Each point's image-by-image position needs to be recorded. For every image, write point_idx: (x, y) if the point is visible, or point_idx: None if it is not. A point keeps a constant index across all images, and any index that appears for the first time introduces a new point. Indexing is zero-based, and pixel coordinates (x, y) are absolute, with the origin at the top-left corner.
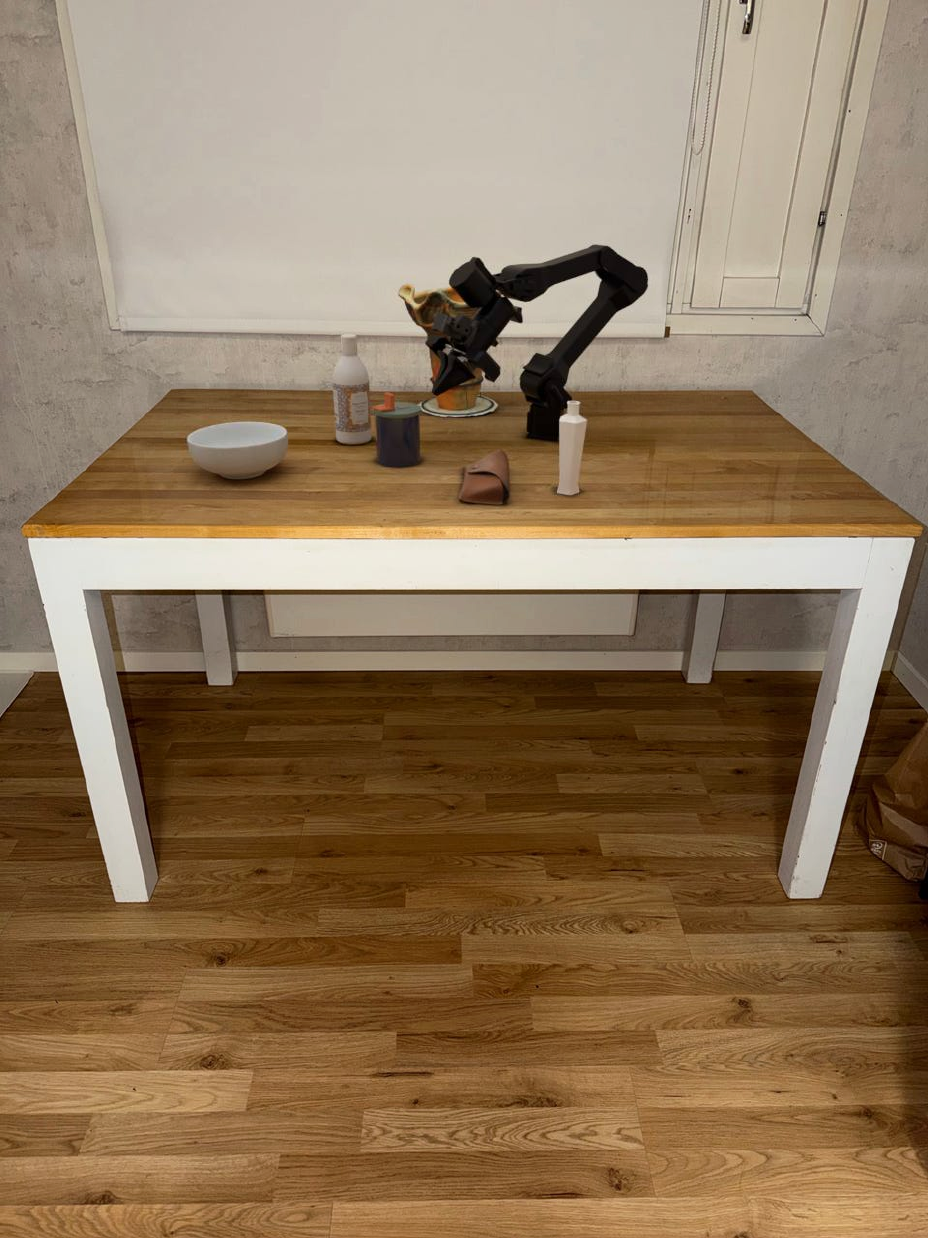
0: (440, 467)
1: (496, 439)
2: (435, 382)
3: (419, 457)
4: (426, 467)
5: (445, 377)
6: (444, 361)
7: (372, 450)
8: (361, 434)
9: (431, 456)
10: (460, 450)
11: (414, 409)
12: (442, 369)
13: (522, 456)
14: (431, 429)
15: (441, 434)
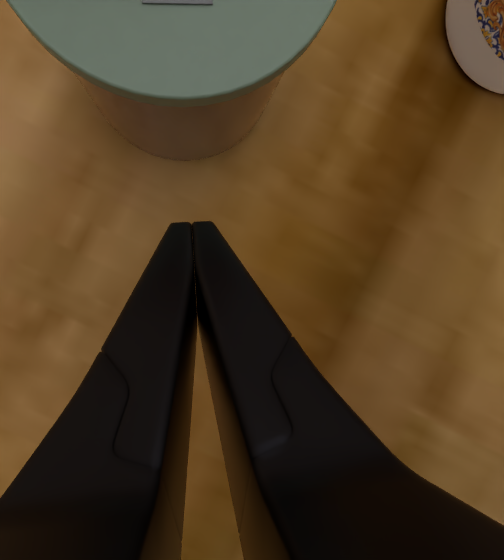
0: (17, 184)
1: None
2: (230, 275)
3: (120, 133)
4: (42, 131)
5: (97, 362)
6: (287, 514)
7: (353, 32)
8: (466, 4)
9: (172, 217)
10: None
11: (68, 4)
12: (250, 408)
13: None
14: (496, 374)
15: (420, 382)
